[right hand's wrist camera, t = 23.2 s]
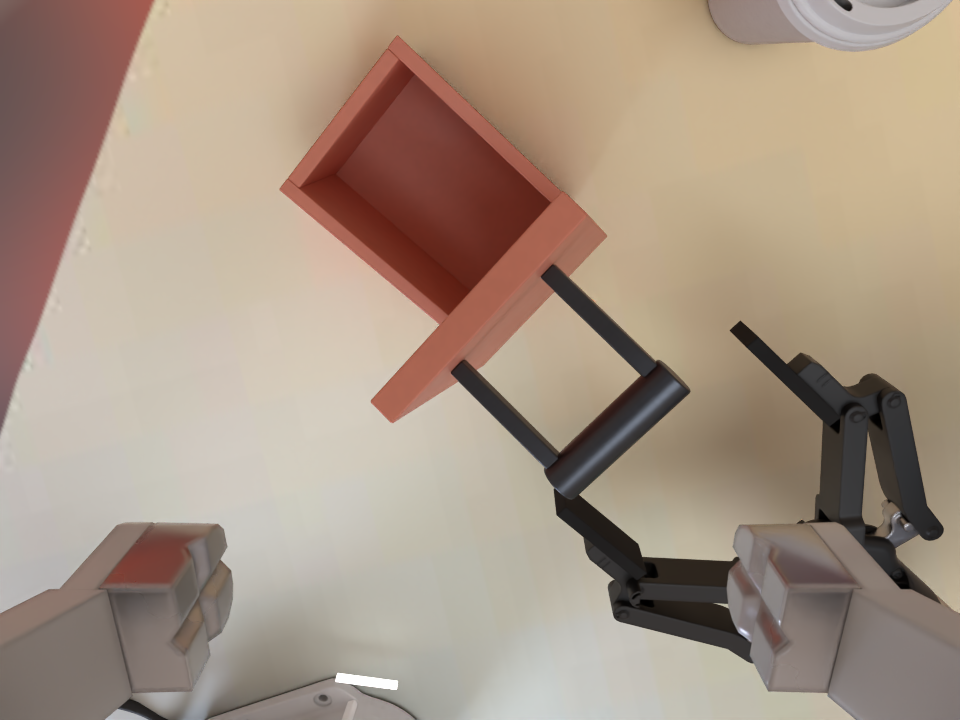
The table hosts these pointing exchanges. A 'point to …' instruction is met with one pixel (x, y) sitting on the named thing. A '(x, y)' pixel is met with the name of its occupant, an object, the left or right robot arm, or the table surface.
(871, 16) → the coffee cup
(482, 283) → the lid
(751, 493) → the table surface
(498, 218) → the storage box
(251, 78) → the table surface
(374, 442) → the table surface
